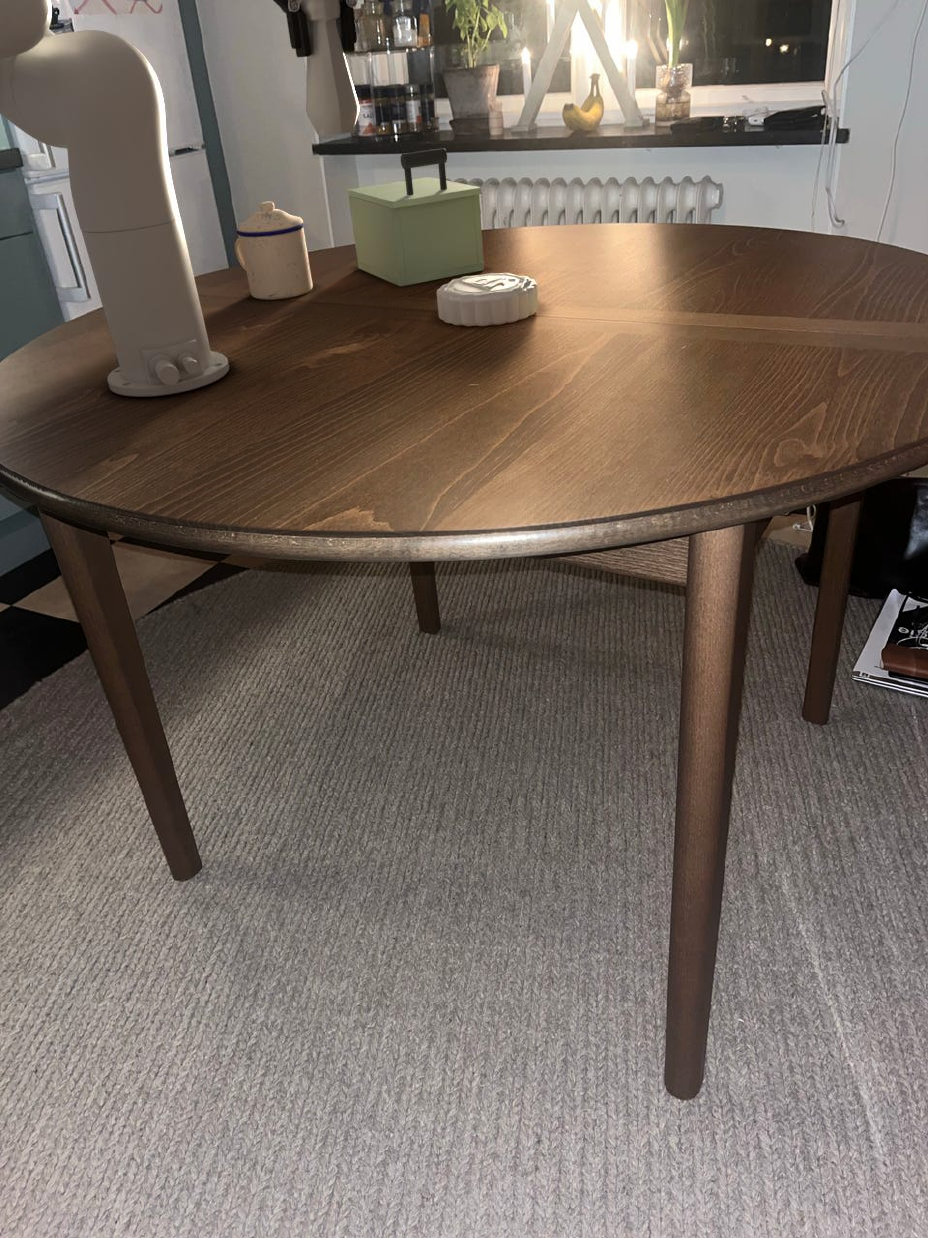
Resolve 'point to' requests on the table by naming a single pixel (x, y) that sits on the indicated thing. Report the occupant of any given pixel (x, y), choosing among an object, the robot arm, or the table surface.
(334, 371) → the table surface
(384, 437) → the table surface
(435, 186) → the green lid with handle
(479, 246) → the green rectangular box
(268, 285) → the teacup with lid
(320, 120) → the salt shaker
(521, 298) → the mooncake
